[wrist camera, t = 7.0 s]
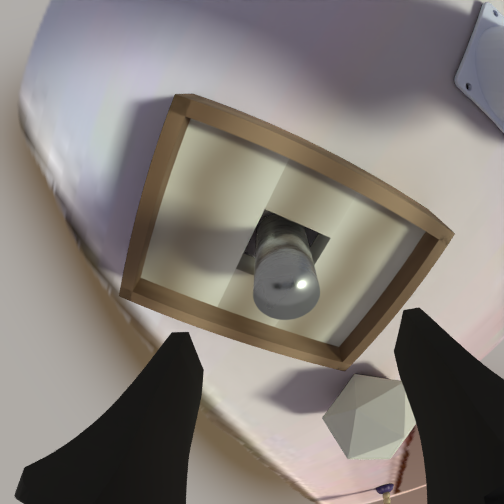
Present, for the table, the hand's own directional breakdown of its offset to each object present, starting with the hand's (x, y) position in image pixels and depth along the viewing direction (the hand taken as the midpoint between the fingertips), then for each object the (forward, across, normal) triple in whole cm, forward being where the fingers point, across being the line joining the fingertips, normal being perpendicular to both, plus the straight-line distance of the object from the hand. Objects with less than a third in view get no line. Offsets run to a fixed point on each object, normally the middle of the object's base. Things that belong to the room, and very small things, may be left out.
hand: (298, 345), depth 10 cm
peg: (+10, 0, +1) cm, 10 cm away
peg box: (+10, 0, +1) cm, 10 cm away
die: (+10, -7, +18) cm, 22 cm away
